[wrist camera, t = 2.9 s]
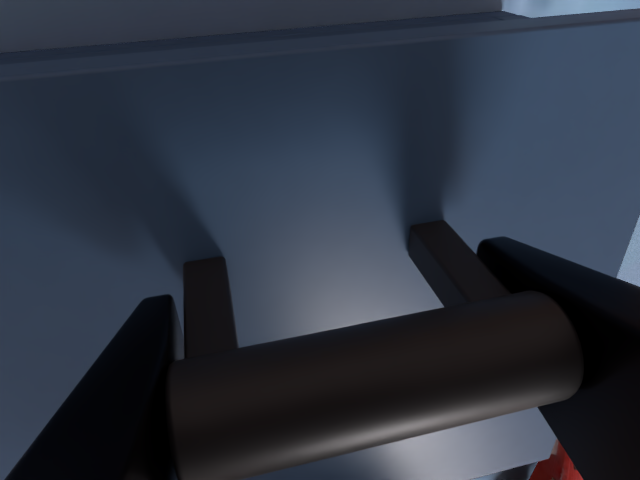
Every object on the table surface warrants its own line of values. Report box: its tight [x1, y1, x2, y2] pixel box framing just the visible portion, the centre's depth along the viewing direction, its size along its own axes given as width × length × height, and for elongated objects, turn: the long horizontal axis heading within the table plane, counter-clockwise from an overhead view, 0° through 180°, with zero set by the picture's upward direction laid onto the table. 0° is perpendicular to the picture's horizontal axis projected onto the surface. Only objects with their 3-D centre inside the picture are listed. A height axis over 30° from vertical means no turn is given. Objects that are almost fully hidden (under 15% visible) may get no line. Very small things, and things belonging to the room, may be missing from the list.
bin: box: [0, 11, 529, 65], centre depth 13 cm, size 12×14×5 cm
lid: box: [0, 8, 640, 480], centre depth 9 cm, size 12×14×4 cm
